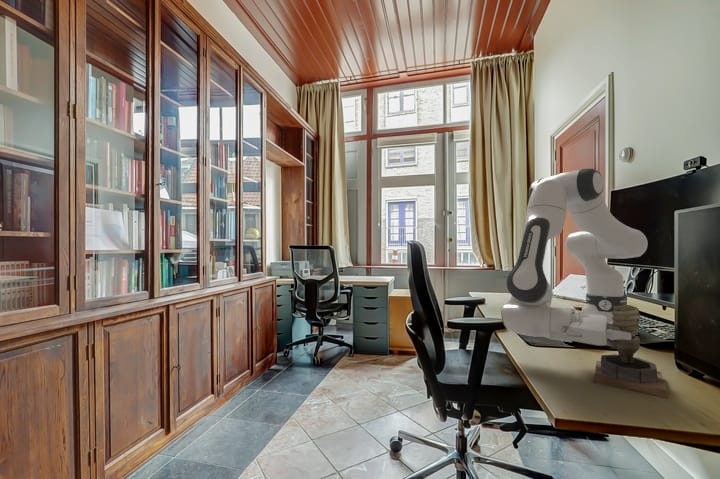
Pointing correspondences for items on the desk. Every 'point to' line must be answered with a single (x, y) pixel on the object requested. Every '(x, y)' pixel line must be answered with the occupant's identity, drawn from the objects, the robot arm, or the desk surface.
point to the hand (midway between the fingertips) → (630, 332)
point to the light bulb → (626, 321)
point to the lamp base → (630, 375)
